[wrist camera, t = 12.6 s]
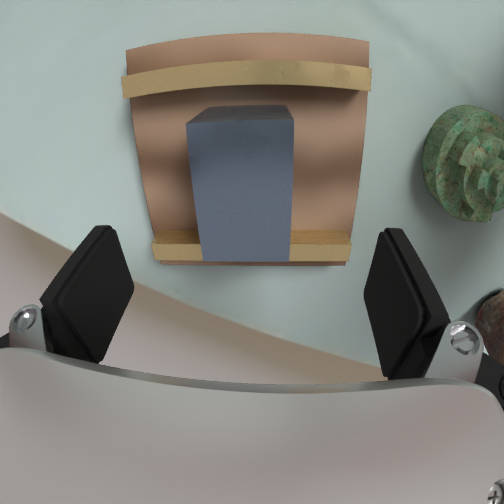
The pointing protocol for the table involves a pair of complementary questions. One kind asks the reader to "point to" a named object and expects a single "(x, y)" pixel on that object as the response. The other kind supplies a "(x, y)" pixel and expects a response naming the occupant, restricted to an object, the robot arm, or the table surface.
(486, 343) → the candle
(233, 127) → the block
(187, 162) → the channel stand
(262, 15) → the table surface
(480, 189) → the decorative artifact
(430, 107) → the table surface
